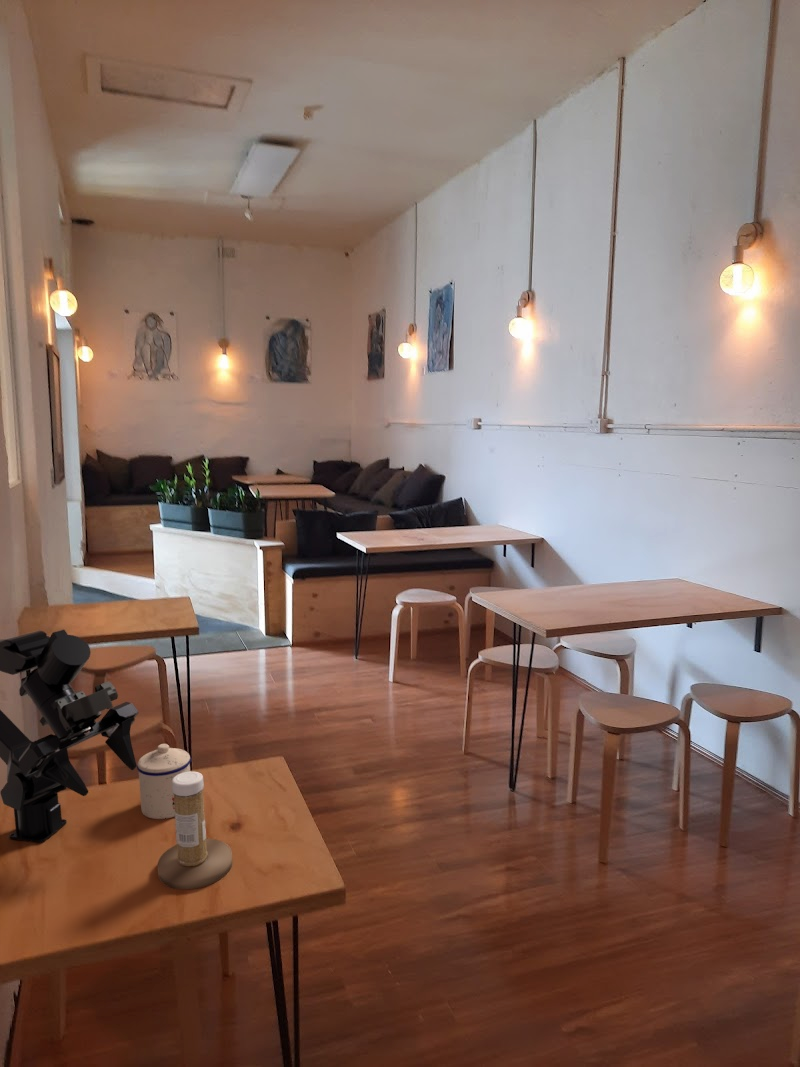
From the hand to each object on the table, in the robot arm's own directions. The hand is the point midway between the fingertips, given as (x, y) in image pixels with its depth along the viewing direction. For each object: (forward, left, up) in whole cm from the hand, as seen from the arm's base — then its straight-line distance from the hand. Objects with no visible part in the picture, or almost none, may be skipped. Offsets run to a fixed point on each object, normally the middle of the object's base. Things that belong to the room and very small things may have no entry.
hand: (111, 781), depth 116 cm
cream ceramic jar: (-1, +18, -14) cm, 23 cm away
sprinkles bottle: (+12, +1, -12) cm, 17 cm away
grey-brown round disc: (+13, +1, -14) cm, 19 cm away
